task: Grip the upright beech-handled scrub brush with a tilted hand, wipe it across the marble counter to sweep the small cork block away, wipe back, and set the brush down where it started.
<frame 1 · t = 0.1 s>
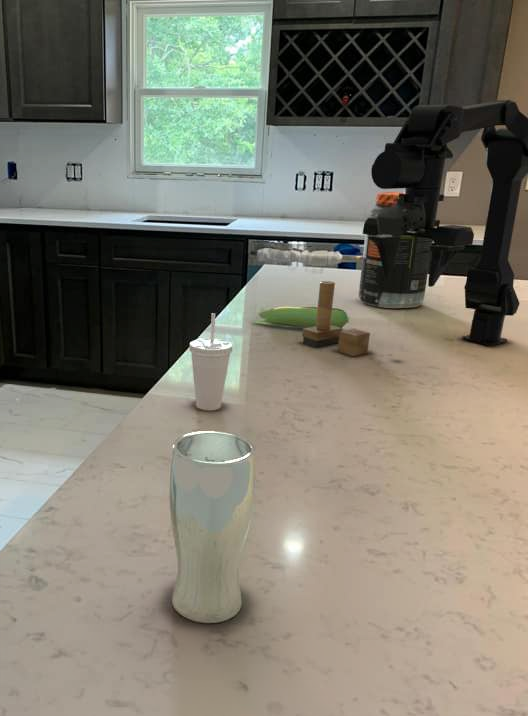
hand: (408, 282, 128), 15 cm above the countertop, tool pointing down, fingers open, 9 cm apart
edible corn: (299, 328, 157), on the countertop
beer glass: (206, 604, 64), on the countertop
smoothie: (208, 407, 111), on the countertop
brush: (321, 343, 145), on the countertop
supplement tub: (389, 303, 182), on the countertop
cork block: (352, 352, 139), on the countertop
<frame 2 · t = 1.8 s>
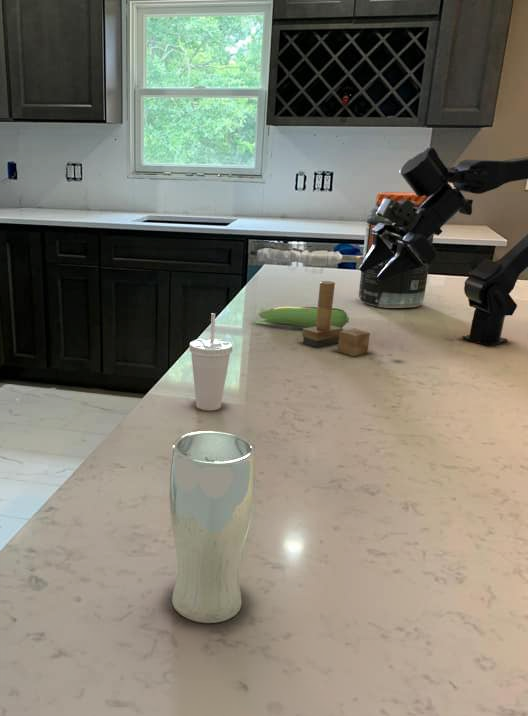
hand: (369, 274, 141), 13 cm above the countertop, tool tilted 45°, fingers open, 9 cm apart
nothing on the countertop moved.
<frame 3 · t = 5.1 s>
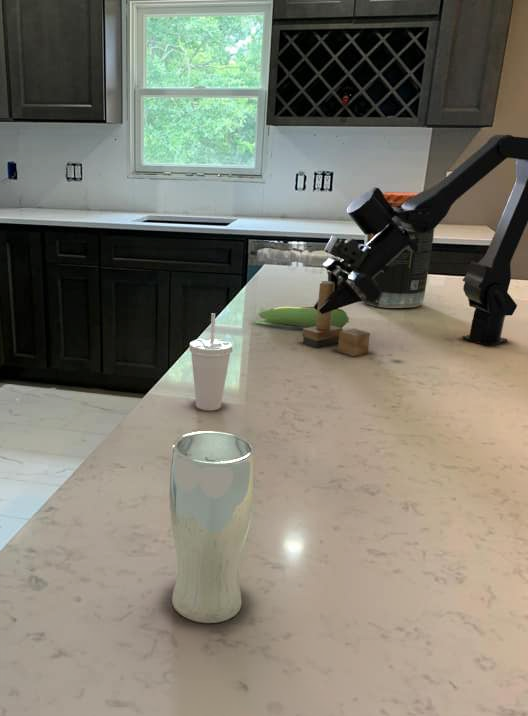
hand: (317, 310, 143), 7 cm above the countertop, tool tilted 45°, fingers closed on brush, 3 cm apart
brush: (321, 343, 145), on the countertop, touching gripper
everything else where it was.
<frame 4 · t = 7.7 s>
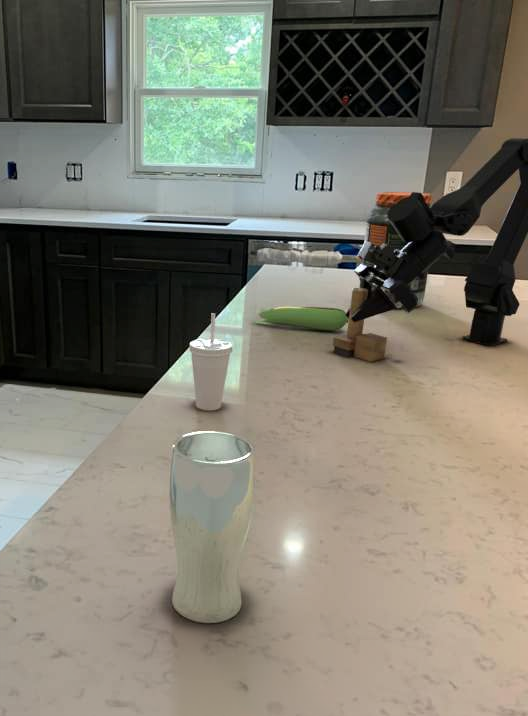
hand: (349, 318, 137), 7 cm above the countertop, tool tilted 45°, fingers closed on brush, 3 cm apart
brush: (352, 352, 139), on the countertop, touching gripper
cork block: (368, 357, 137), on the countertop
everything else where it was.
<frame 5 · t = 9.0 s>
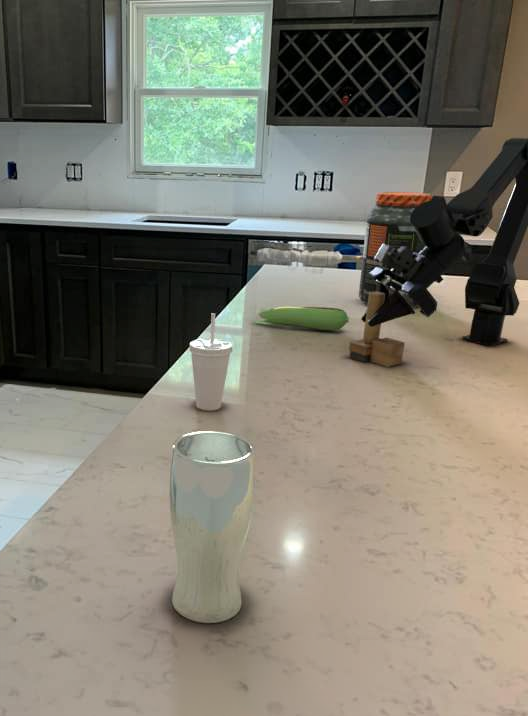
hand: (365, 322, 134), 7 cm above the countertop, tool tilted 45°, fingers closed on brush, 3 cm apart
brush: (368, 357, 137), on the countertop, touching cork block, gripper
cork block: (385, 362, 134), on the countertop, touching brush
everything else where it was.
when the fingers open (7 cm above the countertop, at t = 12.5 s): brush stays where it is, on the countertop.
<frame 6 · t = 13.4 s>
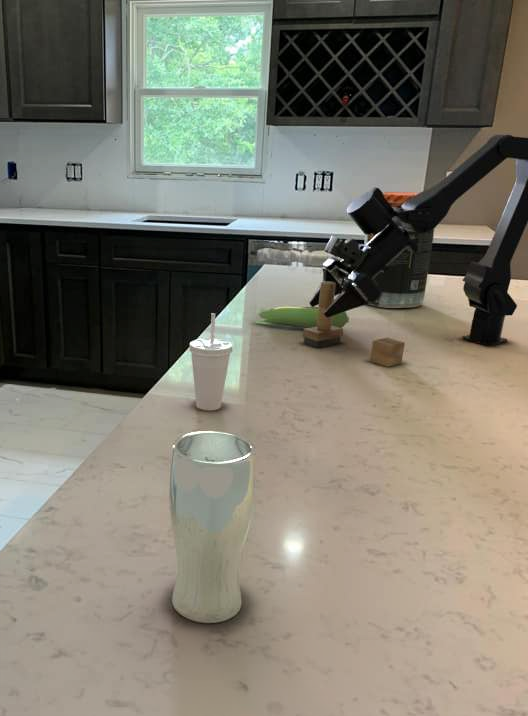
hand: (317, 310, 143), 7 cm above the countertop, tool tilted 45°, fingers open, 9 cm apart
brush: (321, 343, 145), on the countertop
cork block: (385, 362, 134), on the countertop
everything else where it was.
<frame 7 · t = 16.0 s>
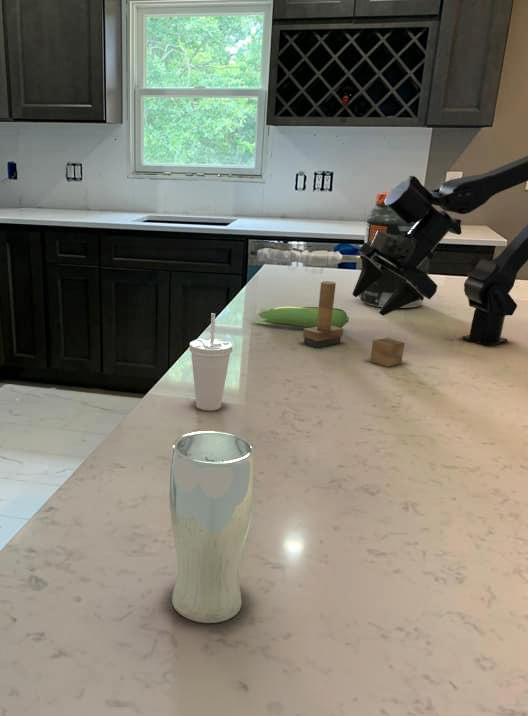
hand: (367, 304, 143), 8 cm above the countertop, tool tilted 35°, fingers open, 9 cm apart
nothing on the countertop moved.
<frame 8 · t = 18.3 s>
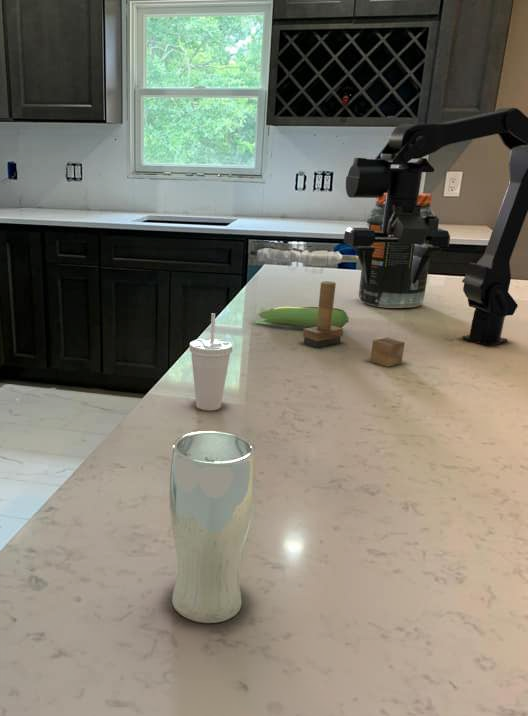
hand: (390, 283, 141), 12 cm above the countertop, tool pointing down, fingers open, 9 cm apart
nothing on the countertop moved.
at the end: cork block inside the target area (1.2 cm from its centre), on the countertop; brush tilted 0°; brush inside the target area (0.3 cm from its centre), on the countertop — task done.
